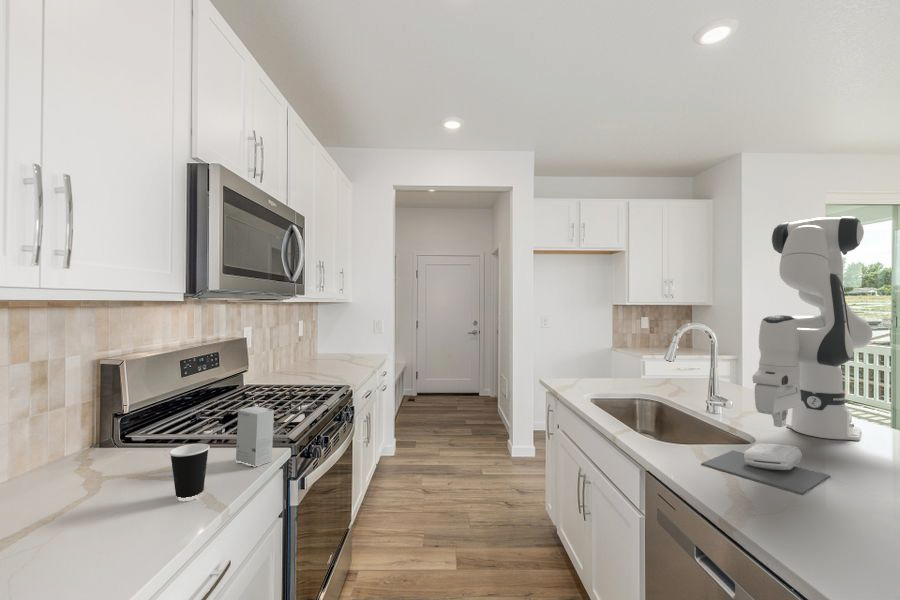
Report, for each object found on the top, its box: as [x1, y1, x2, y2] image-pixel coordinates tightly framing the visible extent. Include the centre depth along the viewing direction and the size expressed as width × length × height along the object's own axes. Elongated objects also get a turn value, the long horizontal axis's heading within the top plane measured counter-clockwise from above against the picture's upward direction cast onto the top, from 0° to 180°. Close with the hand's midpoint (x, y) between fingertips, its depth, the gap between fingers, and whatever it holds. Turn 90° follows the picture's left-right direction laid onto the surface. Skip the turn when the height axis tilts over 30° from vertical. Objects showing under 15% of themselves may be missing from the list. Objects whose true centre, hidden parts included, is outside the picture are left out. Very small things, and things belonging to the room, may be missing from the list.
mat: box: [701, 449, 831, 496], centre depth 111 cm, size 18×22×1 cm
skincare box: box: [235, 405, 275, 466], centre depth 119 cm, size 8×6×15 cm
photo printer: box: [743, 442, 803, 470], centre depth 113 cm, size 10×4×12 cm
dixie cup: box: [168, 443, 211, 498], centre depth 98 cm, size 8×8×11 cm
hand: (779, 426), depth 117 cm, fingers closed
